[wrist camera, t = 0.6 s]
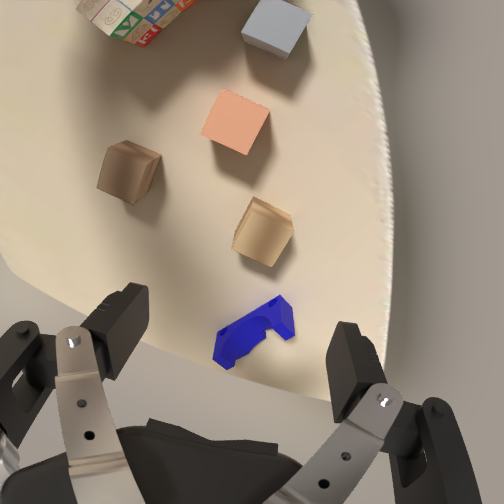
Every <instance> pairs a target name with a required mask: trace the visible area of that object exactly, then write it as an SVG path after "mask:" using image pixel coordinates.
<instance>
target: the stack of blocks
mask: <svg viewBox="0 0 504 504" xmlns="http://www.w3.org/2000/svg"><path fill="white" fill-rule="evenodd" d="M195 1H196V0H82V2H81V3H80V4H79V5H78V6H77V8H76V10H77V11H78V12H80V13H81V14H82V15H83V16H85V17H86V18H87V19H88V20H90V21H91V22H93V23H94V24H95V25H96V26H97V27H99V28H100V29H101V30H102V31H103V32H105V33H106V34H107V35H108V36H110V37H113V38H117V39H120V40H124V41H127V42H130V43H132V44H136V45H138V46H141V47H145V46H146V45H147V44H148V43H149V42H150V41H151V40H152V39H153V38H154V37H155V36H156V35H157V34H158V33H159V32H160V31H161V29H164V28H165V27H166V26H167V25H168V24H169V23H170V22H171V21H172V20H173V19H175V18H176V17H177V16H178V15H179V14H180V13H181V12H182V11H184V10H185V9H186V8H187V7H189V6H190V5H191V4H192V3H193V2H195Z"/></svg>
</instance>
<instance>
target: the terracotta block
mask: <svg viewBox="0 0 504 504" xmlns="http://www.w3.org/2000/svg"><path fill="white" fill-rule="evenodd" d="M269 112H270V110H269V109H267V108H265V107H263V106H261V105H259V104H257V103H255V102H253V101H250V100H248V99H246V98H244V97H242V96H239V95H237V94H235V93H233V92H230V91H228V90H225V89H222V90H221V92H220V94H219V96H218V98H217V100H216V102H215V104H214V106H213V108H212V110H211V112H210V114H209V116H208V118H207V120H206V123H205V125H204V127H203V129H202V131H201V133H200V135H202V136H205V137H207V138H209V139H212V140H214V141H216V142H218V143H221V144H223V145H225V146H227V147H229V148H231V149H234V150H236V151H238V152H240V153H242V154H244V155H246V156H247V154H248V152H249V150H250V148H251V146H252V144H253V142H254V140H255V138H256V136H257V134H258V132H259V131H260V129H261V127H262V125H263V123H264V121H265V119H266V117H267V115H268V114H269Z"/></svg>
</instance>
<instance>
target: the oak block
mask: <svg viewBox="0 0 504 504" xmlns="http://www.w3.org/2000/svg"><path fill="white" fill-rule="evenodd" d="M293 233H294V229H293V224H292V220H291V215H290V214H288V213H286V212H284V211H282V210H280V209H278V208H276V207H274V206H272V205H270V204H268V203H266V202H264V201H262V200H260V199H257V198H255V197H253V198H252V200H251V202H250V204H249V206H248V207H247V209H246V211H245V213H244V215H243V217H242V219H241V221H240V223H239V225H238V227H237V228H236V230H235V235H234V239H233V244H232V249H231V250H234V251H236V252H238V253H240V254H243V255H245V256H247V257H249V258H251V259H254V260H256V261H258V262H260V263H263V264H265V265H267V266H269V267H273V265H274V263H275V262H276V260H277V258H278V257H279V255H280V254H281V252H282V250H283V249H284V247H285V246H286V244H287V242H288V241H289V239H290V237H291V236H292V234H293Z"/></svg>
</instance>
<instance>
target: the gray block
mask: <svg viewBox="0 0 504 504" xmlns="http://www.w3.org/2000/svg"><path fill="white" fill-rule="evenodd" d="M312 15H313V14H311V13H309V12H307V11H305V10H303V9H300V8H298V7H296V6H294V5H292V4H289V3H287V2H285V1H283V0H260V1H259V3H258V5H257V6H256V8H255V9H254V11H253V13H252V14H251V16H250V18H249V19H248V21H247V23H246V24H245V26H244V28H243V29H242V31H241V34H242V37H243V40H244V42H246V43H248V44H251V45H253V46H255V47H258V48H260V49H262V50H265V51H267V52H269V53H271V54H273V55H276V56H278V57H280V58H282V59H284V60H286V59H287V58H288V56H289V54H290V52H291V51H292V49H293V47H294V46H295V44H296V42H297V40H298V39H299V37H300V35H301V34H302V32H303V30H304V29H305V27H306V25H307V24H308V22H309V20H310V18H311V17H312Z"/></svg>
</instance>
